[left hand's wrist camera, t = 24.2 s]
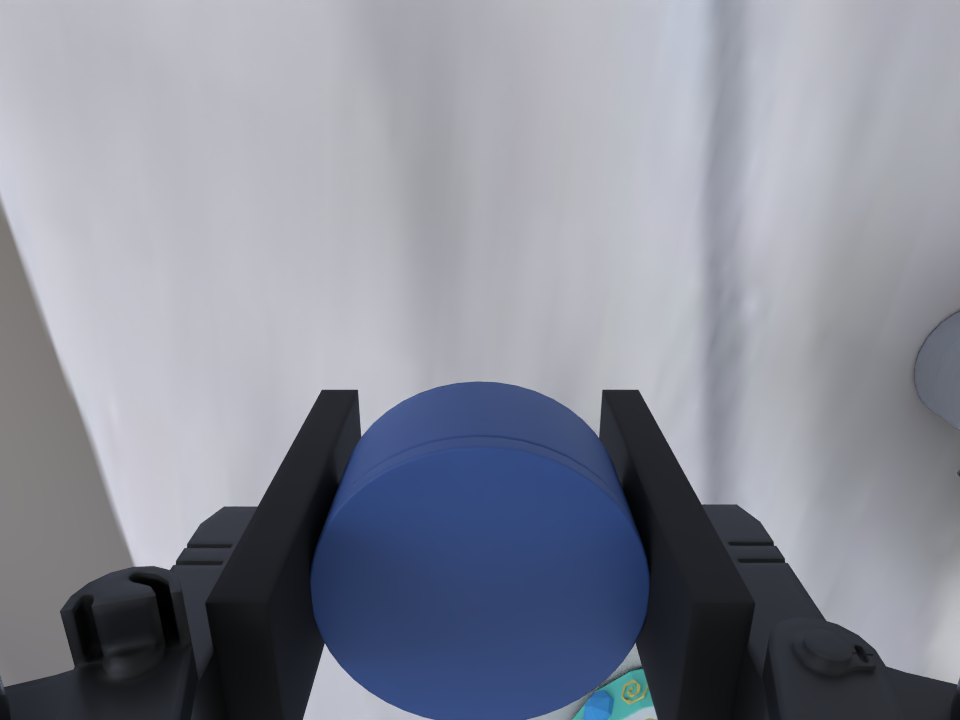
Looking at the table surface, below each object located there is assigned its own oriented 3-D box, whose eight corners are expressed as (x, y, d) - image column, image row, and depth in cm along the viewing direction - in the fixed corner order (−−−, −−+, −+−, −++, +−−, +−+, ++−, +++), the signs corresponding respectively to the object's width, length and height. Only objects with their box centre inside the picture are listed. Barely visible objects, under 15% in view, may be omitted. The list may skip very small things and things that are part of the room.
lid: (678, 506, 13) (722, 595, 10) (483, 663, 14) (484, 772, 12) (475, 320, 11) (473, 375, 9) (282, 513, 13) (238, 602, 10)
